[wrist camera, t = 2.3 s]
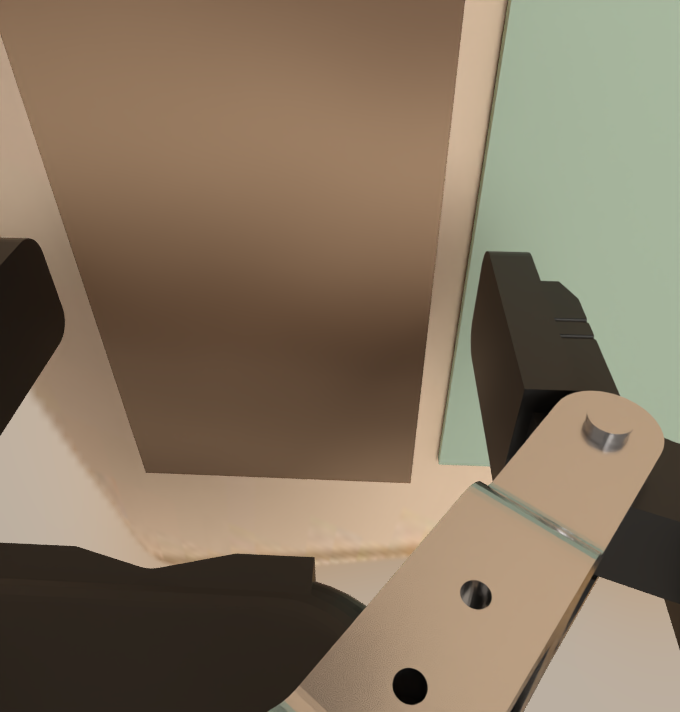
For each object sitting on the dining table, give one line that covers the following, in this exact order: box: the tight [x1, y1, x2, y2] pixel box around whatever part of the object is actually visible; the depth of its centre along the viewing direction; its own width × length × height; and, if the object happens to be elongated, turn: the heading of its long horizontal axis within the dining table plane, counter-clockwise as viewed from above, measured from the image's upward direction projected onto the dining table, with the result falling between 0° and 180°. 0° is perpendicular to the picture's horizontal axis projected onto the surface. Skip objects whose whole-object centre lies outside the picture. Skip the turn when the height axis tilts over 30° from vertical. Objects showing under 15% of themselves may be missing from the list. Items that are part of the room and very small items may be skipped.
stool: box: [0, 0, 465, 483], centre depth 14 cm, size 10×6×8 cm, turn 0°
